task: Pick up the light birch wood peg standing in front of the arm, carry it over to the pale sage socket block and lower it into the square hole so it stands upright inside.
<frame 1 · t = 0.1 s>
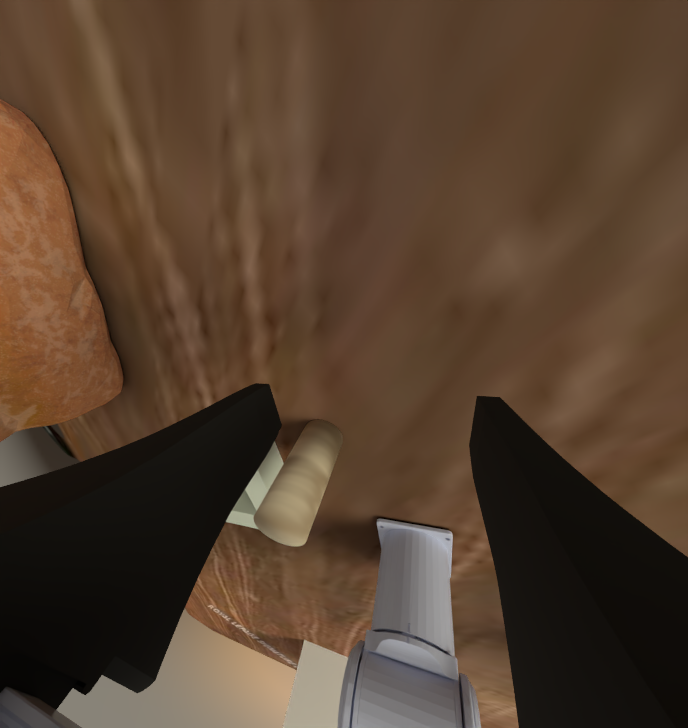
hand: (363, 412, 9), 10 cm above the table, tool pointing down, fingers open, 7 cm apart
peg: (323, 435, 25), on the table
bread: (57, 276, 25), on the table
milk: (328, 654, 66), on the table
socket block: (246, 470, 32), on the table
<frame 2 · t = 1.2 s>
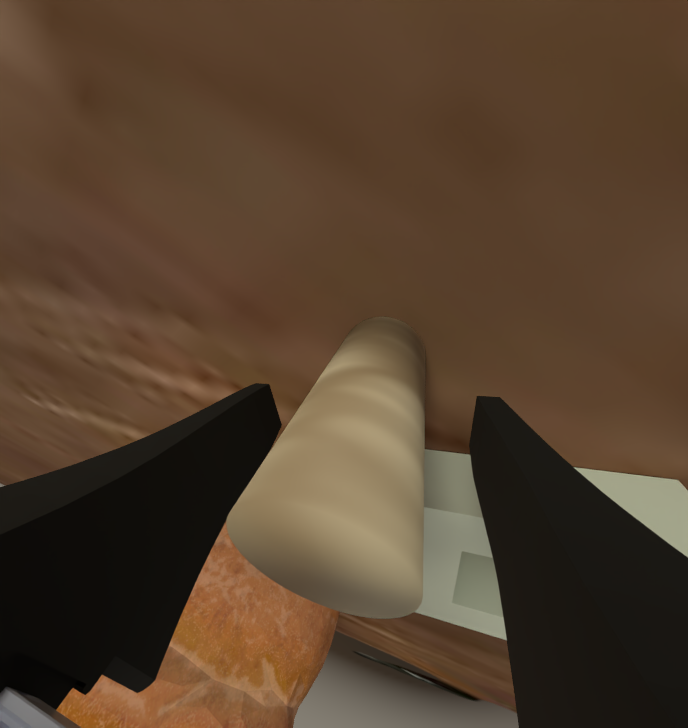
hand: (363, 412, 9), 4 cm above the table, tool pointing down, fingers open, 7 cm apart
peg: (382, 355, 12), on the table
bread: (237, 536, 29), on the table
socket block: (502, 526, 16), on the table
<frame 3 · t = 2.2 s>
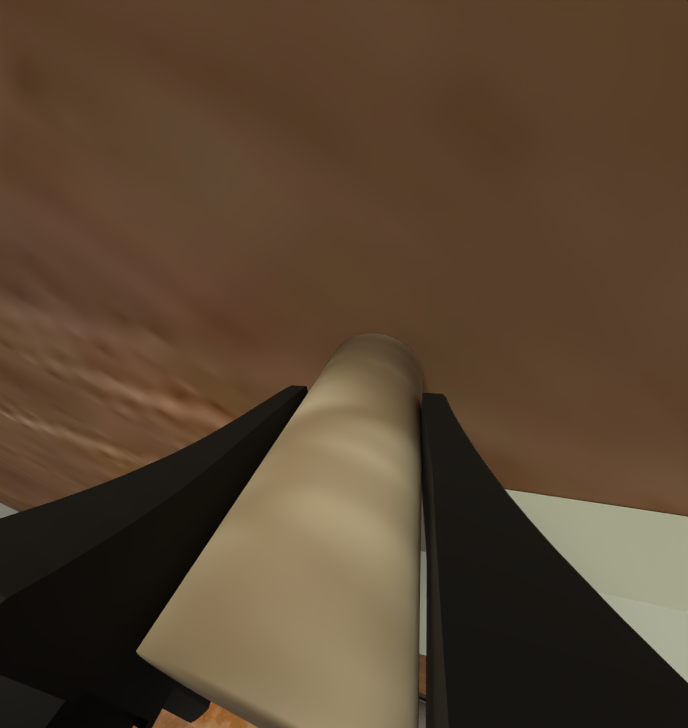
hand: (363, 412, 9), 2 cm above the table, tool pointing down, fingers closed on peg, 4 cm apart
peg: (374, 376, 11), on the table, touching gripper
bread: (225, 555, 28), on the table
socket block: (508, 559, 15), on the table
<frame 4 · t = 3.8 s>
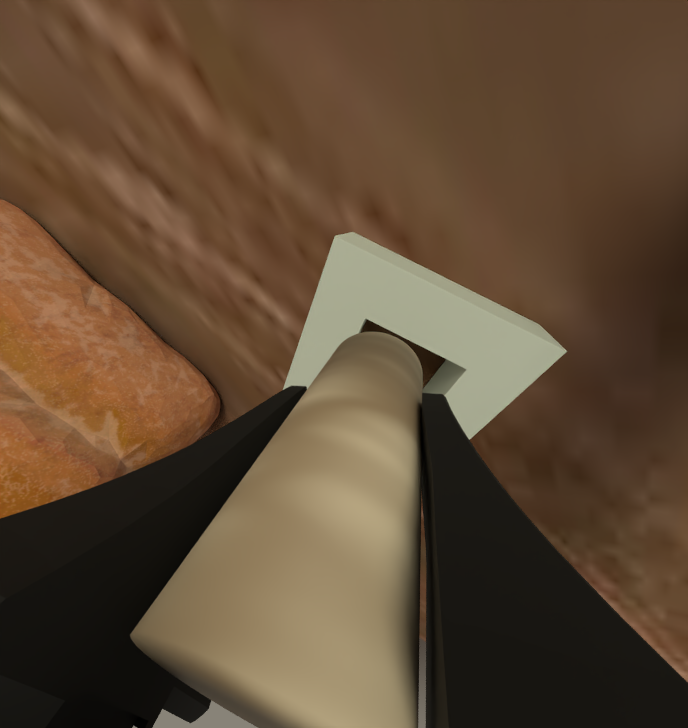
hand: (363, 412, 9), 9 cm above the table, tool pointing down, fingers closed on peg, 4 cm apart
peg: (374, 375, 11), point 7 cm above the table, touching gripper
bread: (116, 335, 26), on the table
socket block: (395, 356, 18), on the table
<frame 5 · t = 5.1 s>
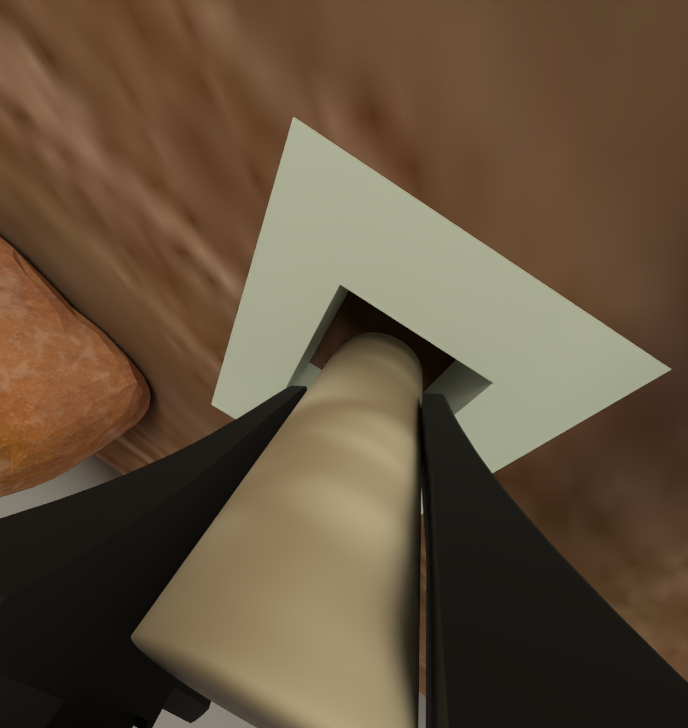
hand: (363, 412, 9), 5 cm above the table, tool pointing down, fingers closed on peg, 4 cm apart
peg: (374, 375, 11), point 2 cm above the table, touching gripper
bread: (12, 291, 19), on the table
socket block: (382, 352, 13), on the table
when the fingers open (4 cm above the table, at t = 5.8 s): peg drops 1 cm, resting in socket block.
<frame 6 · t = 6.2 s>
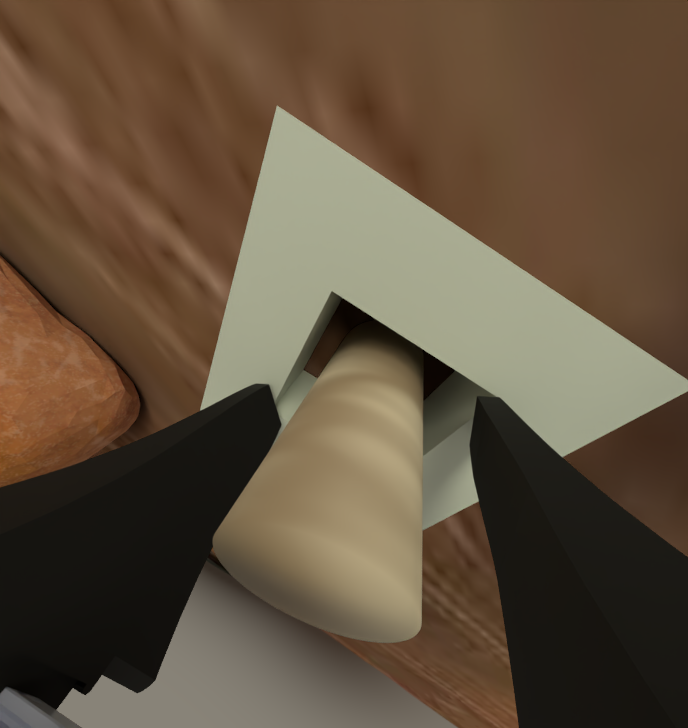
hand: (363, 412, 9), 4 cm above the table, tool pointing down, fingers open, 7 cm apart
peg: (380, 359, 12), resting in socket block
socket block: (379, 360, 12), on the table
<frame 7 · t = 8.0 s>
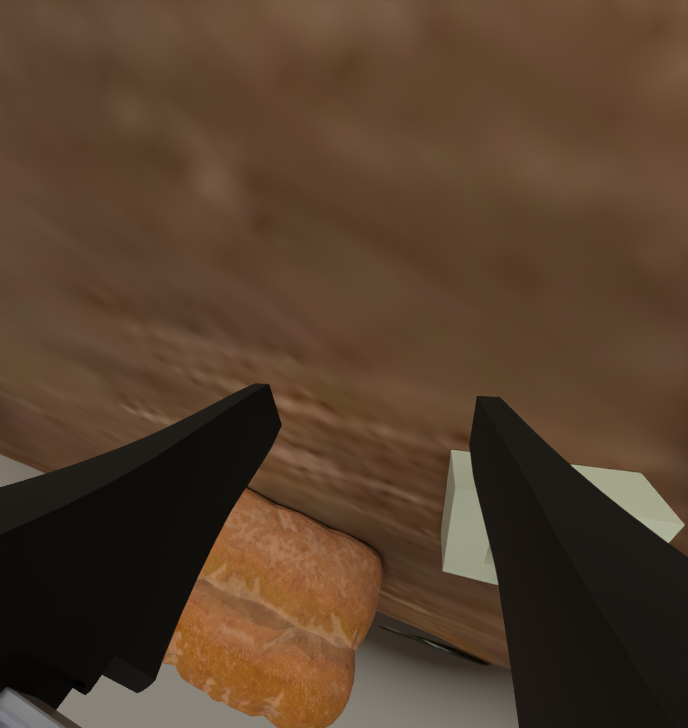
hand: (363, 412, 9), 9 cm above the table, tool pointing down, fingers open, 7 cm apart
bread: (290, 525, 36), on the table
socket block: (520, 508, 22), on the table
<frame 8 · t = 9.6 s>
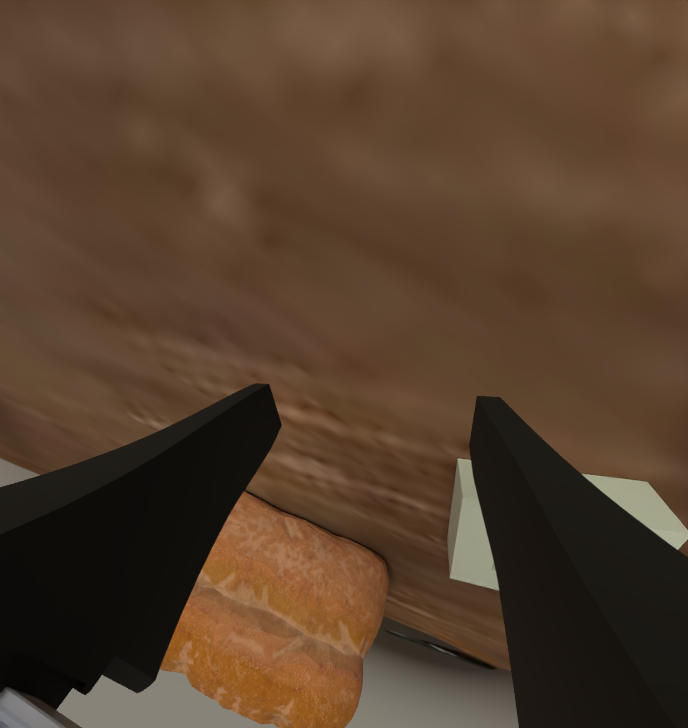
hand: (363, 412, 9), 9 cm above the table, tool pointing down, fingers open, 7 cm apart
bread: (296, 532, 36), on the table
socket block: (526, 515, 22), on the table
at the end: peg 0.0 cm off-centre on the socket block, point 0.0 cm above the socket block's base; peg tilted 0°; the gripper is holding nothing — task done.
